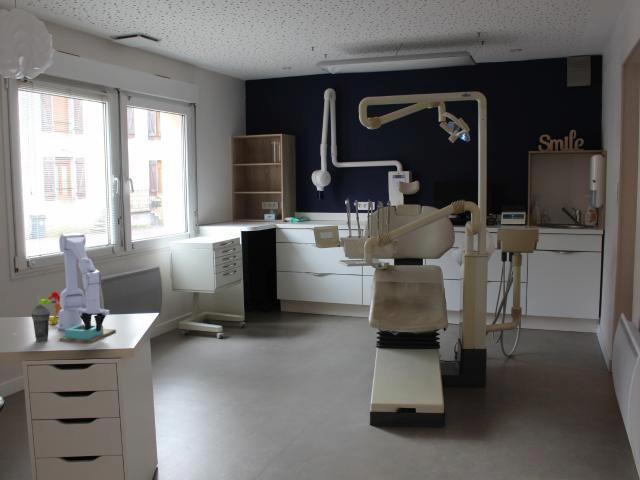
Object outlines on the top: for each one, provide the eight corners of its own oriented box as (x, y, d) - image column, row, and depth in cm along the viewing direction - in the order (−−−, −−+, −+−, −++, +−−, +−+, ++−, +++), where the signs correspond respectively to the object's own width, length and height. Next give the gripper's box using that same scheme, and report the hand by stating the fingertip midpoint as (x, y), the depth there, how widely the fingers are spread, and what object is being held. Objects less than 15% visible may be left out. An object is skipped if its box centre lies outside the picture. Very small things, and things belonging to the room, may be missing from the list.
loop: (65, 337, 270) (65, 329, 270) (81, 331, 281) (80, 323, 280) (88, 339, 268) (88, 331, 267) (103, 333, 278) (103, 325, 278)
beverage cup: (39, 344, 265) (37, 296, 263) (28, 341, 269) (26, 294, 267) (54, 340, 271) (52, 293, 269) (44, 337, 275) (42, 292, 273)
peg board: (59, 341, 270) (59, 327, 269) (86, 330, 288) (85, 317, 287) (91, 343, 266) (90, 330, 266) (115, 332, 285) (115, 319, 284)
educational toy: (77, 321, 308) (78, 291, 305) (56, 328, 296) (57, 296, 294) (54, 315, 314) (55, 286, 312) (32, 321, 302) (33, 290, 300)
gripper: (71, 300, 269) (73, 331, 271) (102, 302, 266) (103, 334, 267) (81, 297, 276) (82, 327, 277) (111, 298, 273) (112, 329, 274)
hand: (93, 330), depth 273 cm, fingers open, 4 cm apart
